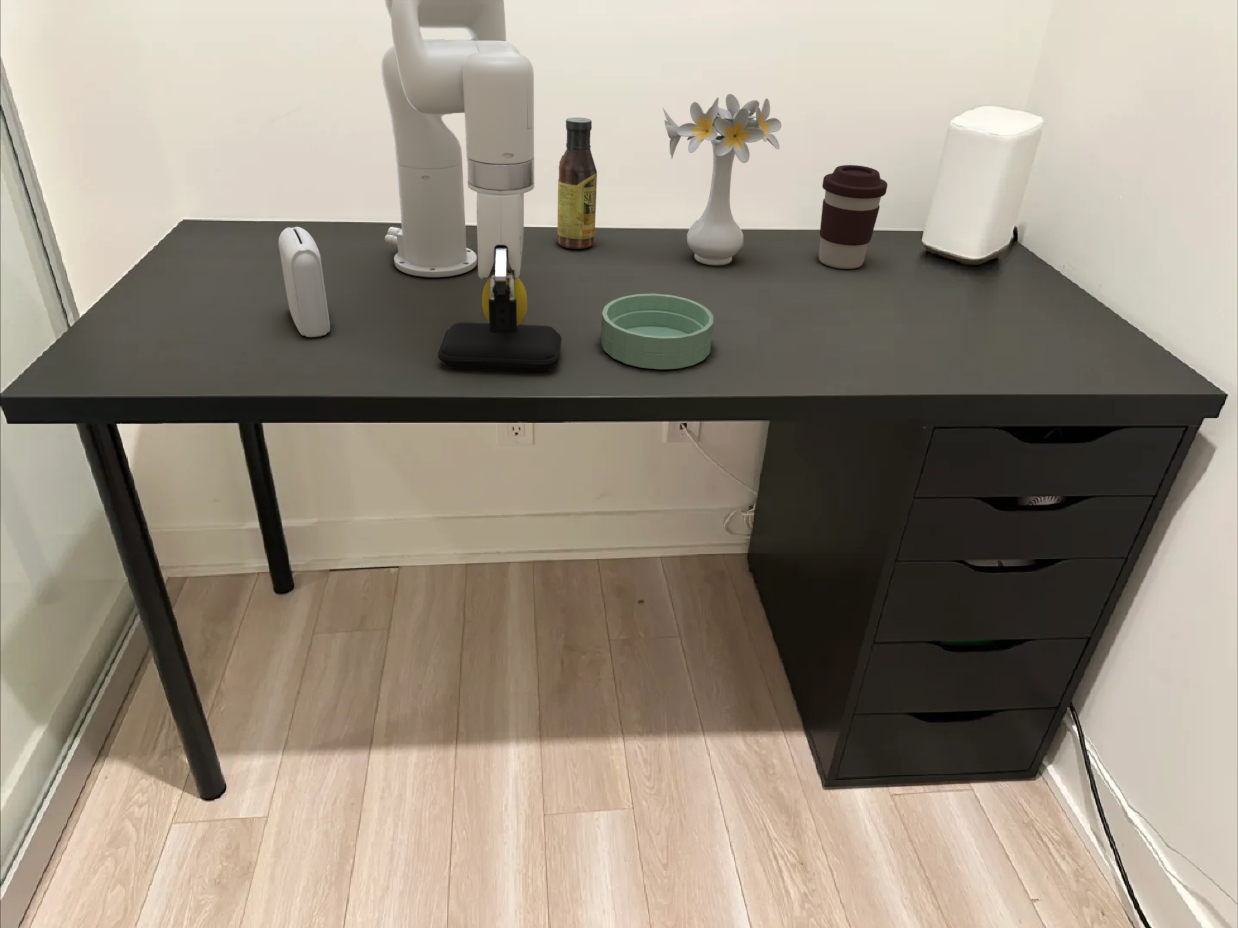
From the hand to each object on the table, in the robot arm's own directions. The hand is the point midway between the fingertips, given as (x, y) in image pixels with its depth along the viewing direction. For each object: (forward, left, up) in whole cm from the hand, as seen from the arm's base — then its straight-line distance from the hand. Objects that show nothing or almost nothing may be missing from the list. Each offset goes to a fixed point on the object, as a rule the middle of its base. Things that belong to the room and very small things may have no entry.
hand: (504, 315), depth 109 cm
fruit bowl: (+16, +12, -5) cm, 20 cm away
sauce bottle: (-12, +42, -5) cm, 44 cm away
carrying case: (0, -1, -5) cm, 5 cm away
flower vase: (+10, +47, -5) cm, 48 cm away
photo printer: (-27, -5, -5) cm, 28 cm away
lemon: (0, 0, -2) cm, 2 cm away
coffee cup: (+29, +58, -5) cm, 65 cm away
